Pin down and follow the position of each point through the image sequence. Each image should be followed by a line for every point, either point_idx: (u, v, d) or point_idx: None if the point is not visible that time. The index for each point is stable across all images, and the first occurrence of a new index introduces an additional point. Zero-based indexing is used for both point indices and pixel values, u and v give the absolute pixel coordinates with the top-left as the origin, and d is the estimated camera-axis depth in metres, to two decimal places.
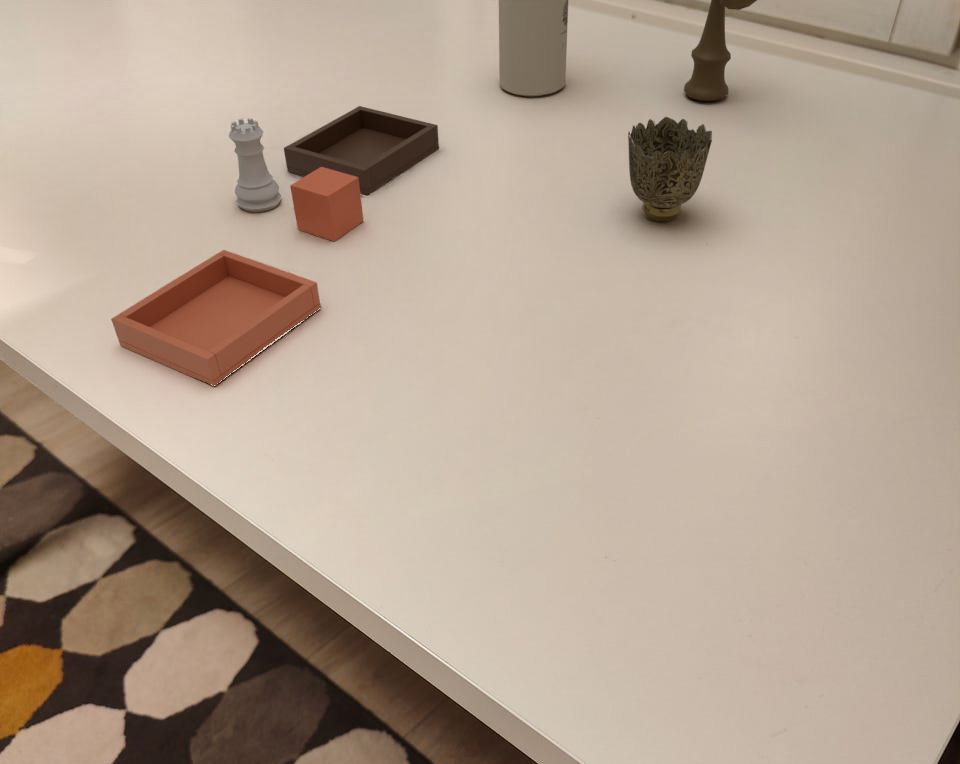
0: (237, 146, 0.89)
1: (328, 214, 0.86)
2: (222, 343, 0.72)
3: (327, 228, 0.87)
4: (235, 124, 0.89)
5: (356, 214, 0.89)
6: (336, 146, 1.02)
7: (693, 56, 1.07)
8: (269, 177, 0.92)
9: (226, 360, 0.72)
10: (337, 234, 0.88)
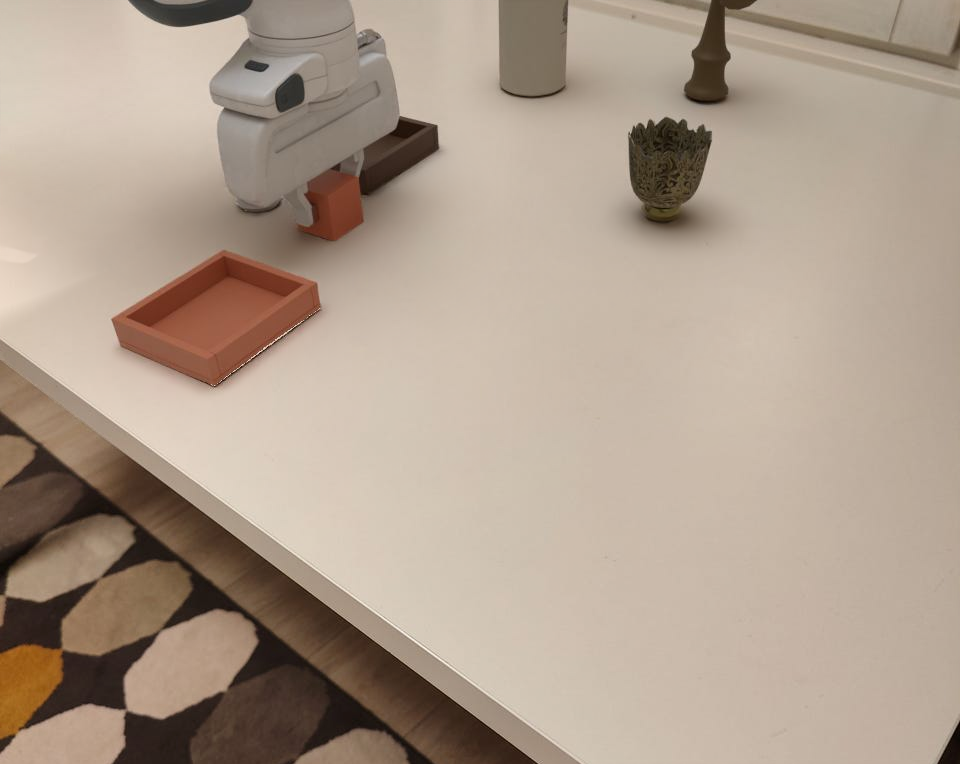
0: None
1: (328, 214, 0.86)
2: (222, 343, 0.72)
3: (327, 228, 0.87)
4: None
5: (357, 214, 0.89)
6: None
7: (693, 56, 1.07)
8: None
9: (226, 360, 0.72)
10: (337, 234, 0.88)
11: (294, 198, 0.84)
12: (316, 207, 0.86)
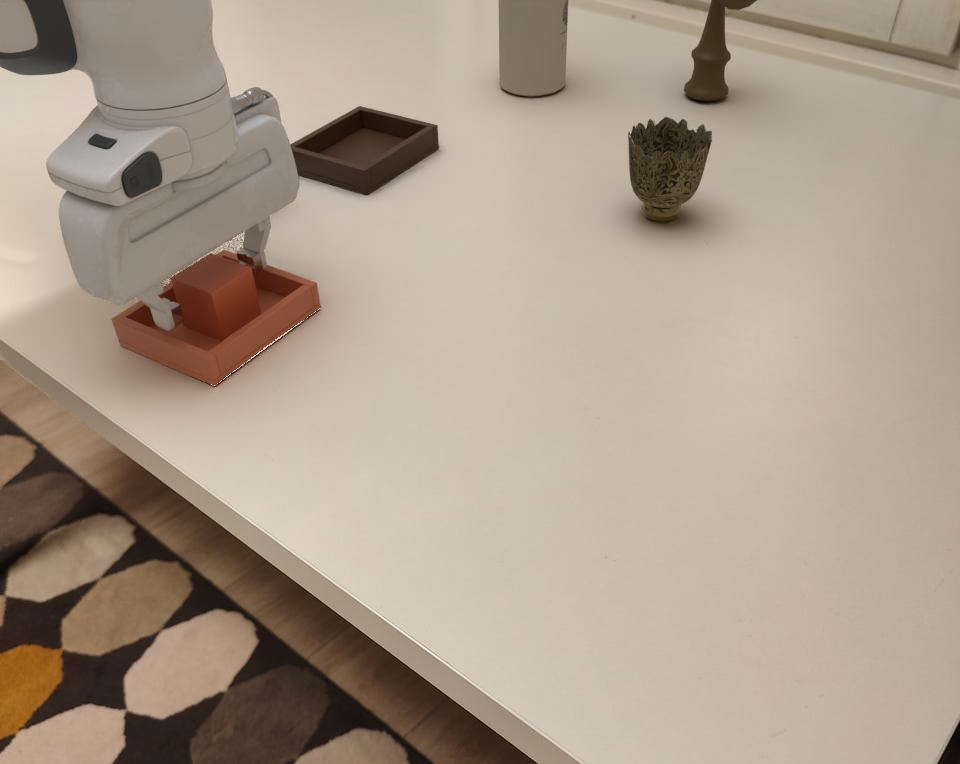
0: None
1: (214, 312, 0.74)
2: (222, 343, 0.72)
3: (215, 327, 0.75)
4: None
5: (252, 308, 0.77)
6: (336, 146, 1.02)
7: (693, 56, 1.07)
8: None
9: (226, 360, 0.72)
10: (227, 333, 0.75)
11: (147, 300, 0.70)
12: (177, 308, 0.72)
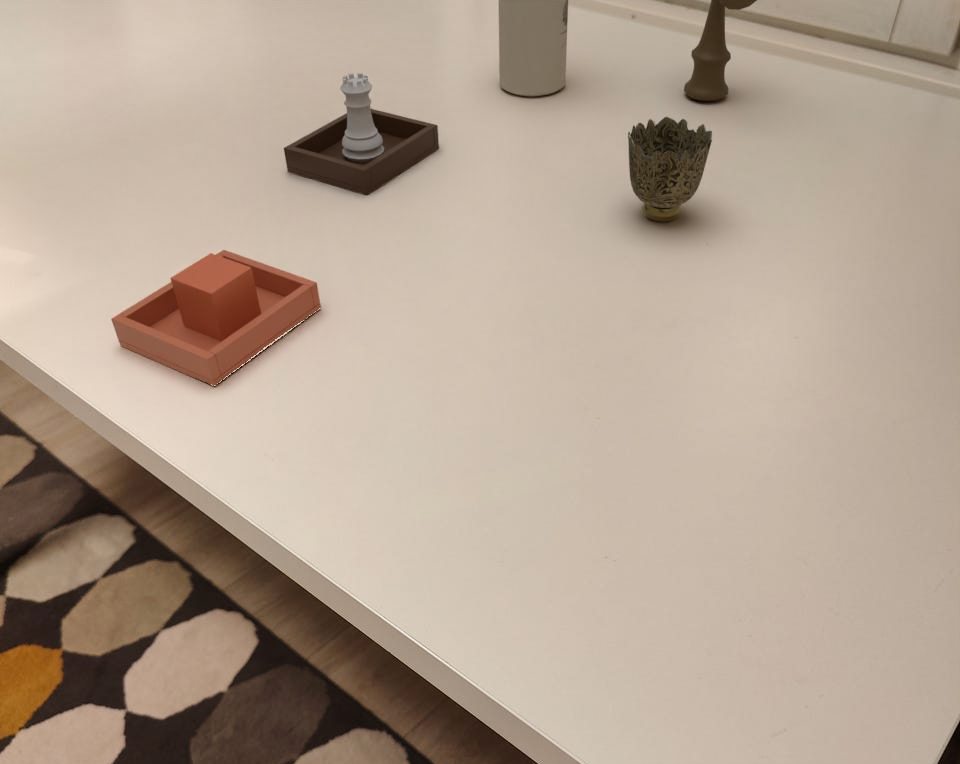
0: (348, 99, 0.95)
1: (214, 312, 0.74)
2: (222, 343, 0.72)
3: (215, 327, 0.75)
4: (346, 78, 0.95)
5: (252, 308, 0.77)
6: (336, 146, 1.02)
7: (693, 56, 1.07)
8: (375, 129, 0.98)
9: (226, 360, 0.72)
10: (227, 333, 0.75)
11: None
12: None
